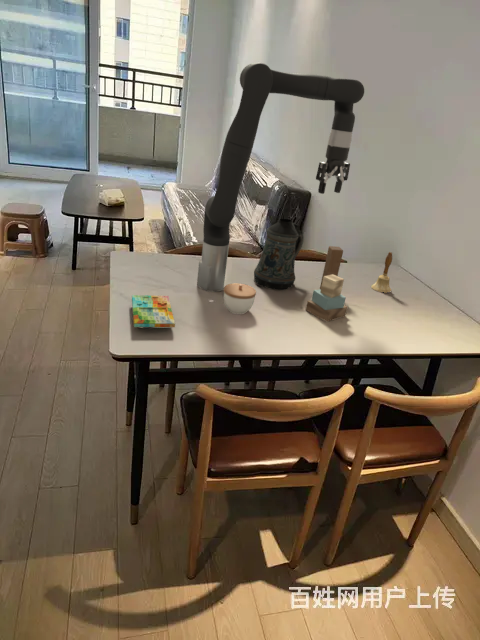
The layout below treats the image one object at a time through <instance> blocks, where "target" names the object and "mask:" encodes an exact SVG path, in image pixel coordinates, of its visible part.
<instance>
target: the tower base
mask: <svg viewBox="0 0 480 640" xmlns="http://www.w3.org/2000/svg"><path fill="white" fill-rule="evenodd" d="M311 300H312V299H310V300H307V302H306V306H305V311H306V312H309V313H310V314H312V315H314V316H316V317H318V318H319V319H321V320H323V321H325V322H327V323H328V322H331V321H334V320H337V319H340V318H344V317H346V314H347V309H348V306H346V305H345V304H344V307H343V308H338V309H330V310H324V309H323V308H322V307H320V306H319V305H317V304H316V303H314V302H313V301H311Z"/></svg>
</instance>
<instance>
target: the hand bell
mask: <svg viewBox="0 0 480 640" xmlns="http://www.w3.org/2000/svg"><path fill="white" fill-rule="evenodd" d="M392 262H393V252H391V251H389V252H388V253H387V255H386V257H385V261H384V269H383V273H382V274H380V275H379V276H378V278H377V280H376V281H375V283H373V284H372V285H371V286H370V288H371V290H374V291H375V292H379V293H382V292H384V293H383V294H388V293H387V292H390V291H391V292H392V289H391V287H390V277H389V276H388V273H389V268H390V266H391V264H392ZM391 292H390V293H391Z"/></svg>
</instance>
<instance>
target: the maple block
mask: <svg viewBox="0 0 480 640" xmlns="http://www.w3.org/2000/svg"><path fill="white" fill-rule="evenodd" d="M344 282H345V279H344V278H342V277H340V276H336V275H333V274H332V275H327V276H324V277H323V282H322V286H321V291H320V293H322V294H324V295H326V296H328V297H331V298H333V297H336V296H340V295H342V290H343V286H344Z"/></svg>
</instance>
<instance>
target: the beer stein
mask: <svg viewBox="0 0 480 640" xmlns="http://www.w3.org/2000/svg"><path fill="white" fill-rule="evenodd" d="M300 228H301V226H300V225H299V224H298V223H296V222H293V221H292V219H289V218H279V220H278V221H277V222H276V223H273V224H272V225H270V226H269V227H268V228H266V236H267V237H266V240H265V243H264V247H263V249H262V253H261V255H260V258H259V261H258V263H257V265H256V266H255V268H254V270H253V276H254V278H253V279H254V283H256V284H257V285H258V286H261V287H263V288H264V289H265V288H266V289H271V290H275V291H276V290H278V291H280V290H284V291H285V290H289V289H291V288H292V287H293V285H294V283H295V281H296V274H295V261H296V258H297V256H298V255H299V253H300V251H301V249H302V247H303V244H304V235H303V234H304V233H303V232H302V230H300Z"/></svg>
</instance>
